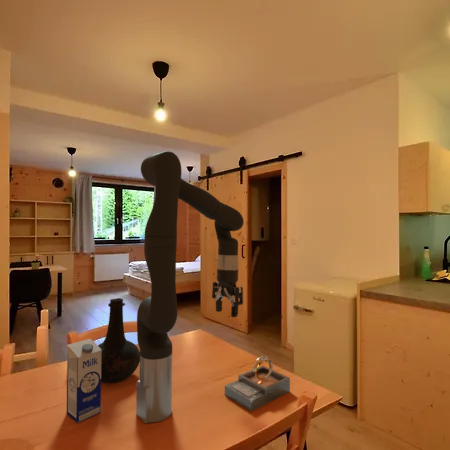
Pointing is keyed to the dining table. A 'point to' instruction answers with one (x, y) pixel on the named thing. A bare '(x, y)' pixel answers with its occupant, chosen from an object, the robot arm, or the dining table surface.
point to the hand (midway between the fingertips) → (226, 314)
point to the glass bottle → (117, 348)
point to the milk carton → (83, 380)
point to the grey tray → (257, 388)
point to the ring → (260, 364)
